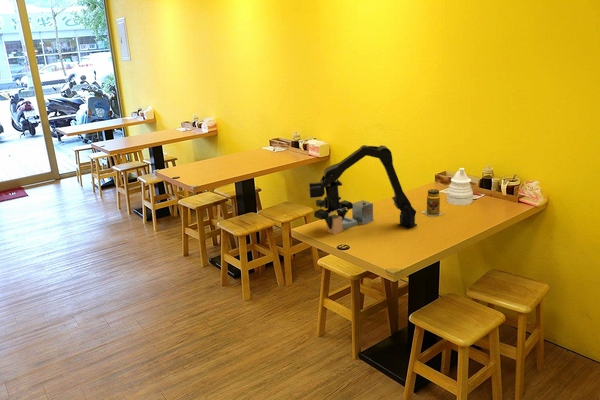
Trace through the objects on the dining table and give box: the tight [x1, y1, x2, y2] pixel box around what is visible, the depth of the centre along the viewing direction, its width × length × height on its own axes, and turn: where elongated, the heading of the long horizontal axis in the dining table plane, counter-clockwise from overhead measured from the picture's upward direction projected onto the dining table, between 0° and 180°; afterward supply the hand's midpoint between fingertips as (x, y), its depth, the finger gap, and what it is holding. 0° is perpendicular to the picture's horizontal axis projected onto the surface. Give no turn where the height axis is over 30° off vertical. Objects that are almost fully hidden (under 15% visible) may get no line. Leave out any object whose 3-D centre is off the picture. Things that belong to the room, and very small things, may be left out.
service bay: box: [342, 215, 358, 230], centre depth 242 cm, size 10×10×2 cm
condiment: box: [421, 188, 444, 217], centre depth 248 cm, size 7×8×12 cm
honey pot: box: [446, 167, 474, 206], centre depth 262 cm, size 13×13×18 cm
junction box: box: [351, 199, 374, 226], centre depth 244 cm, size 8×7×10 cm
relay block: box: [326, 214, 343, 235], centre depth 234 cm, size 5×5×7 cm
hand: (335, 226), depth 235 cm, fingers open, 5 cm apart
